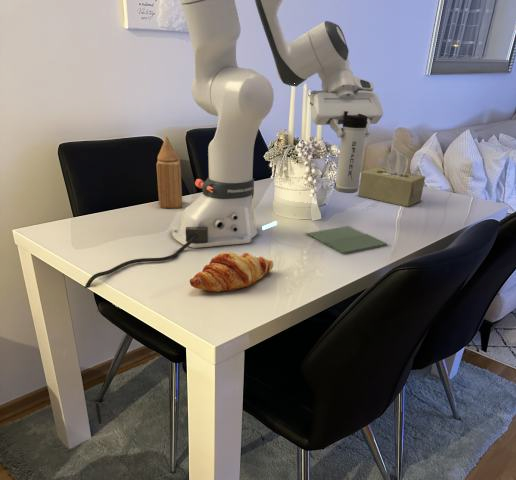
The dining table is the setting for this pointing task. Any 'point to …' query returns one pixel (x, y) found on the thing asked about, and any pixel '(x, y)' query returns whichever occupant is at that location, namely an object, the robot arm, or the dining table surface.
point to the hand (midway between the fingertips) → (354, 135)
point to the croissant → (231, 272)
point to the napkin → (347, 240)
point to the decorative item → (169, 177)
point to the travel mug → (351, 153)
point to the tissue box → (392, 181)
